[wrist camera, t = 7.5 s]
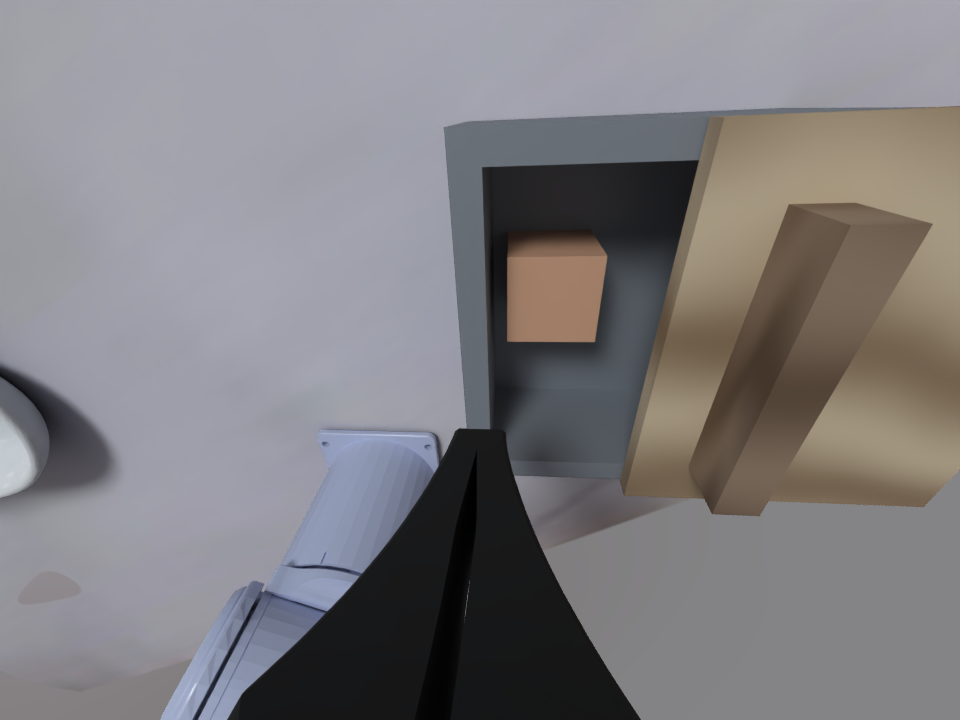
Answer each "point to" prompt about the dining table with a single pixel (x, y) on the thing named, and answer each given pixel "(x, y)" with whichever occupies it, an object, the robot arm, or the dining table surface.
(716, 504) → the lid
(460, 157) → the box
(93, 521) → the dining table surface
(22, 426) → the spoon rest
